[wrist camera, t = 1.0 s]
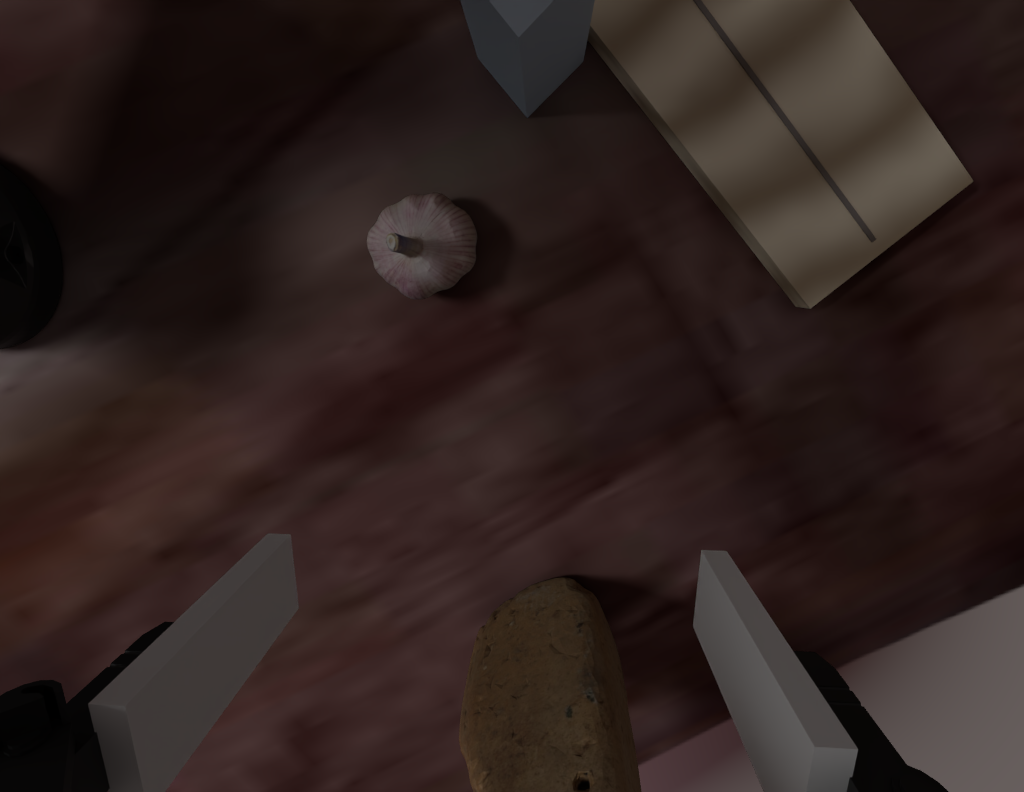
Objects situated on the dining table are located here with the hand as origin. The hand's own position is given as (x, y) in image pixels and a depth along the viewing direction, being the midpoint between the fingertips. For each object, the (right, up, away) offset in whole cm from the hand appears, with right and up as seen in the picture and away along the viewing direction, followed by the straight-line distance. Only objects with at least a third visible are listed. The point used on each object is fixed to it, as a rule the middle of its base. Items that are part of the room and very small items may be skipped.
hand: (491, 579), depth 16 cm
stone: (+4, -13, +28) cm, 31 cm away
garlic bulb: (-5, +17, +21) cm, 27 cm away
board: (+16, +27, +17) cm, 36 cm away
